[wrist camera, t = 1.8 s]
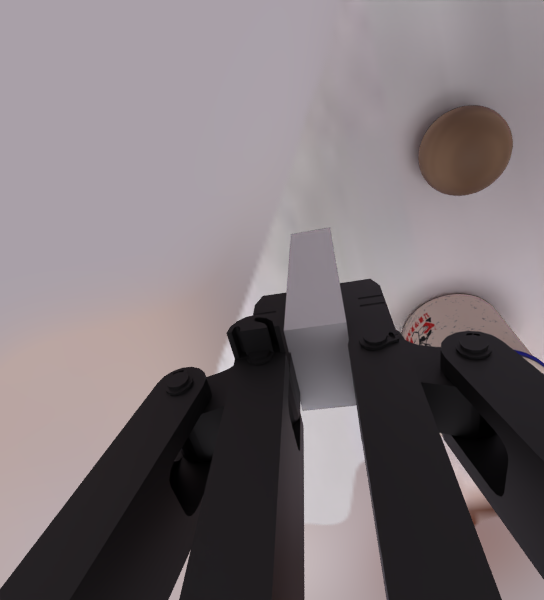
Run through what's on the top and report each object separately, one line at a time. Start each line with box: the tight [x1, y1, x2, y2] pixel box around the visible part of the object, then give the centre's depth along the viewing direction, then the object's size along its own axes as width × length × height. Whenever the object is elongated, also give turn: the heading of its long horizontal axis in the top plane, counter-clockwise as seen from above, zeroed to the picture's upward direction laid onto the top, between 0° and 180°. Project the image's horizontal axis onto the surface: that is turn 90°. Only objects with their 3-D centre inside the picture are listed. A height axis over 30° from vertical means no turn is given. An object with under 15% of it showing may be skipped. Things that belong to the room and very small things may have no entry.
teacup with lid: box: [402, 294, 544, 437], centre depth 31 cm, size 12×9×12 cm
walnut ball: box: [418, 105, 513, 196], centre depth 25 cm, size 6×6×6 cm
